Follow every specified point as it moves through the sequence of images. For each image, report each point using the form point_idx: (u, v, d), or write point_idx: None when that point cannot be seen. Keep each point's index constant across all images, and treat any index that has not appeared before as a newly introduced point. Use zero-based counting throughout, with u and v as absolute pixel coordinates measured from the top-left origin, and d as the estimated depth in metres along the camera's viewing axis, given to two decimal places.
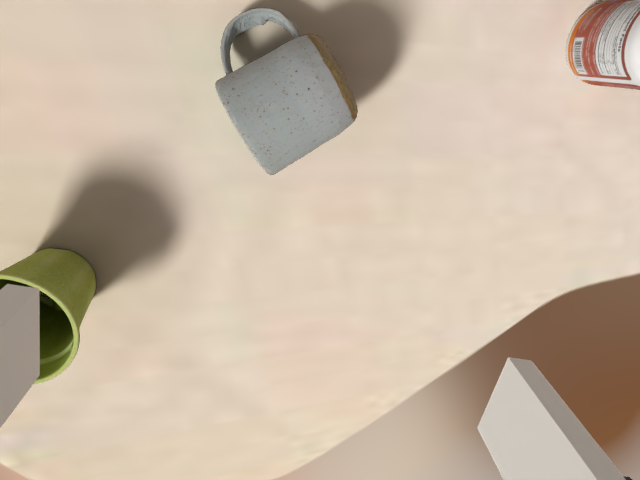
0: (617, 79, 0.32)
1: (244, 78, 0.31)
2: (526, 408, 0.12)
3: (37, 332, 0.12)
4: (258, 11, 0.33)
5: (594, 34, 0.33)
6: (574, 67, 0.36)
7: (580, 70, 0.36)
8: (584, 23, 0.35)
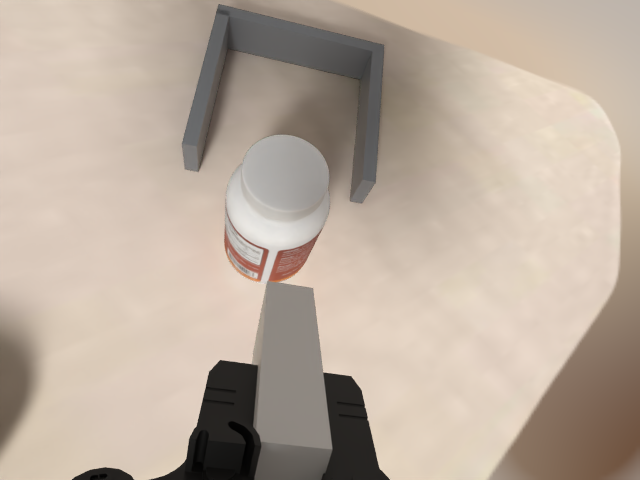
0: (266, 258, 0.28)
1: None
2: None
3: None
4: None
5: (227, 238, 0.30)
6: (248, 276, 0.32)
7: (252, 274, 0.31)
8: None
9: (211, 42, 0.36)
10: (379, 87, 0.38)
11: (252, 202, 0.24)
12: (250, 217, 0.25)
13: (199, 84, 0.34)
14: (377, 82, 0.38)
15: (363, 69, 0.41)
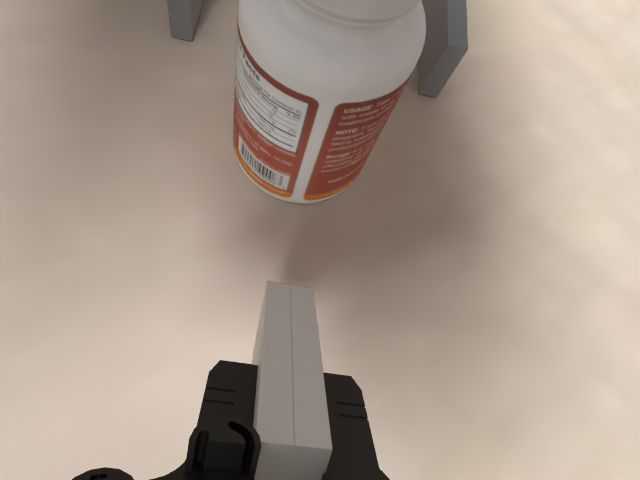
0: (310, 129, 0.16)
1: None
2: None
3: None
4: None
5: (238, 113, 0.18)
6: (273, 186, 0.20)
7: (280, 181, 0.19)
8: (233, 125, 0.20)
9: None
10: None
11: None
12: (287, 26, 0.13)
13: None
14: None
15: None
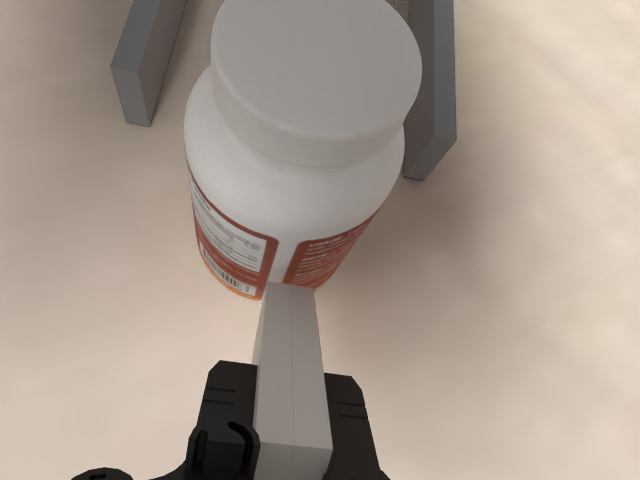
0: (272, 257, 0.13)
1: None
2: None
3: None
4: None
5: (196, 221, 0.16)
6: (239, 291, 0.18)
7: (246, 289, 0.17)
8: None
9: None
10: None
11: (238, 119, 0.10)
12: (236, 165, 0.11)
13: None
14: None
15: None
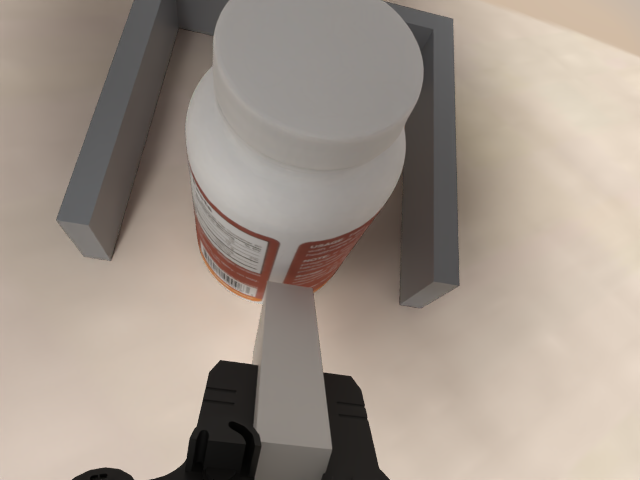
0: (274, 259, 0.13)
1: None
2: None
3: None
4: None
5: (197, 222, 0.16)
6: (240, 292, 0.18)
7: (247, 290, 0.17)
8: None
9: (136, 10, 0.19)
10: (451, 94, 0.21)
11: (240, 122, 0.10)
12: (237, 166, 0.11)
13: (105, 92, 0.17)
14: (446, 85, 0.21)
15: None
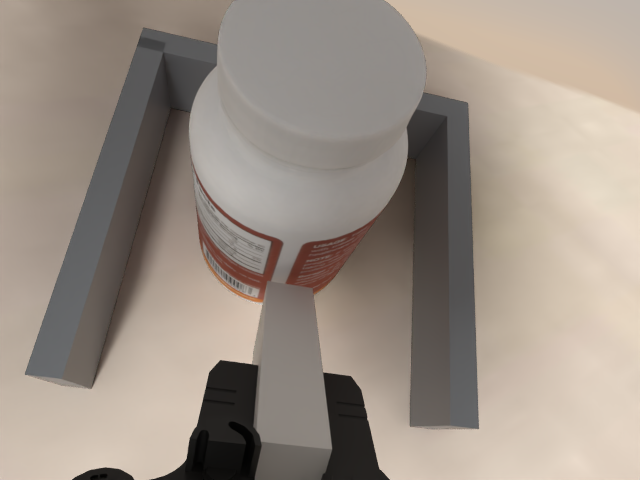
0: (276, 259, 0.14)
1: None
2: None
3: None
4: None
5: (200, 223, 0.16)
6: (242, 293, 0.18)
7: (249, 291, 0.17)
8: None
9: (121, 109, 0.17)
10: (467, 193, 0.19)
11: (245, 121, 0.10)
12: (241, 166, 0.11)
13: (84, 211, 0.15)
14: (462, 182, 0.19)
15: (424, 144, 0.22)
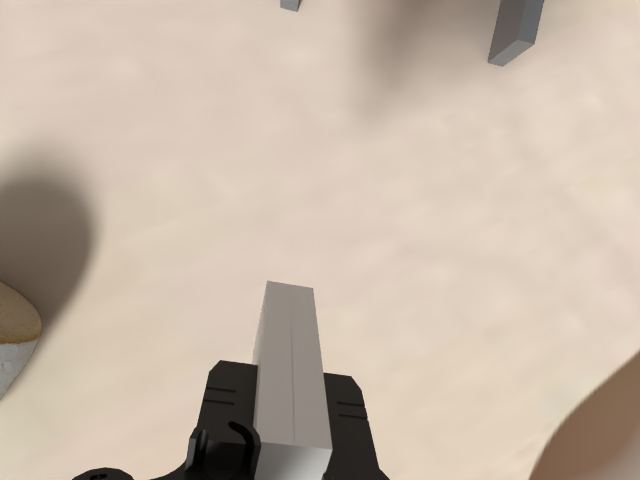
0: None
1: None
2: None
3: None
4: None
5: None
6: None
7: None
8: None
9: None
10: None
11: None
12: None
13: None
14: None
15: None
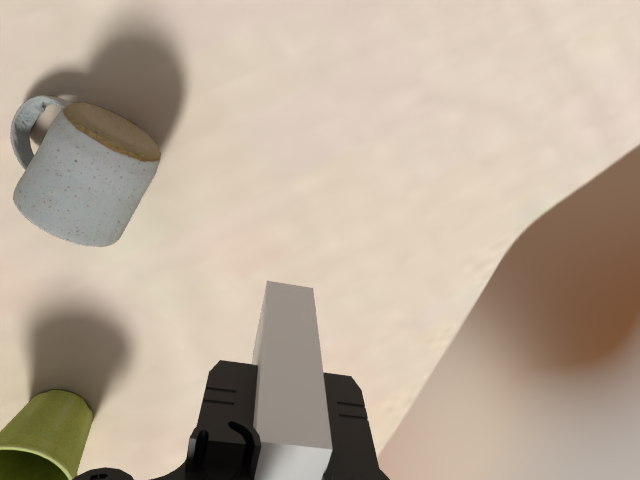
0: None
1: (25, 177, 0.31)
2: None
3: None
4: (28, 104, 0.34)
5: None
6: None
7: None
8: None
9: None
10: None
11: None
12: None
13: None
14: None
15: None
